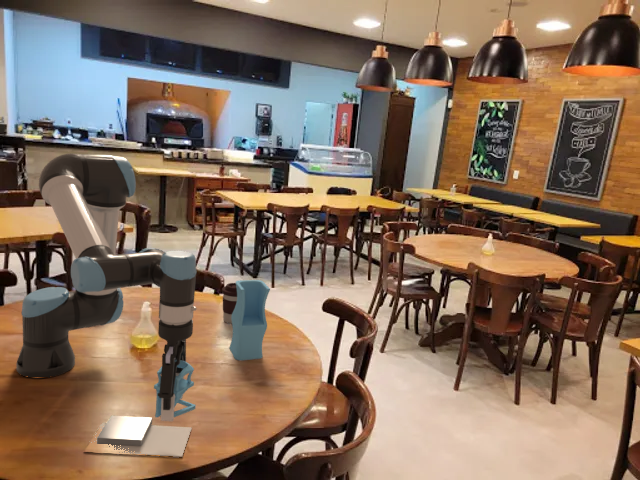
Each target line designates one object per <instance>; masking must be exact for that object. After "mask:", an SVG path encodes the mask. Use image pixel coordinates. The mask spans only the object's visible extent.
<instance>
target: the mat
mask: <svg viewBox="0 0 640 480" xmlns="http://www.w3.org/2000/svg"><path fill="white" fill-rule="evenodd" d="M101 423H102V422H101ZM101 423H100V425H99V427H101V426H102V427H101V428H102V429H103V428H104V427H103V426H105V425H106V423H107V422H103V423H102V424H101ZM99 427H98V428H97V430H98V429H99ZM101 428H100V429H101ZM192 429H193V428H192V427H189V426H172V425H171V426H170V425H155V424H154V425H153V424H152V425H151V427H150V429H149V431H148V433H147V435H146V437H145V439H144V441H143V443H142V445H141V446H130V445H121V446H120V445H116V446H115V445H114V448H115V447H116V450H117V449H118V448H120V447H121V448H120V449H121V450H122V449H123V448H124V449H123V450H125V449H126V450H125V451H128V450H129V451H128V452H129V453H130V454H131V453H132V454H134V453H135V454H145V455H146V454H147V455H160V456H173V457H172V458H179V457H182V458H183V456H184V454H183V453H185V451H184V450H186V448H185V447H187V445H186V444H188V442H187V441H189V439H188V438H190V436H191V433H190V432H192ZM95 433H96V432H95ZM95 433H94V434H95ZM96 434H97V433H96ZM96 434H95V435H96ZM189 435H190V436H189ZM95 438H96V437H95ZM96 441H97V440H96ZM94 442H95V441H94ZM91 443H92V442H91ZM108 445H109V444H108ZM112 446H113V445H112ZM118 446H119V447H118ZM109 447H110V446H109ZM128 448H129V449H128ZM120 449H118V450H120ZM114 450H115V449H114ZM125 451H124V453H125ZM131 451H132V452H131ZM134 451H135V452H134ZM128 452H126V453H128ZM133 452H134V453H133ZM140 452H141V453H140ZM119 453H120V452H119ZM122 453H123V452H122Z"/></svg>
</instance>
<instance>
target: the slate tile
mask: <svg viewBox="0 0 640 480" xmlns="http://www.w3.org/2000/svg"><path fill="white" fill-rule="evenodd" d="M105 423H106V425H105V426H104V428H103V429H102V431H101V432H100V434H99V436H98V437H97V444H111V445H130V446H141V445H142V443H143V441H144V439H145V437H146V435H147V433H148V431H149V429H150V427H151V425H153V417H148V416H146V417H145V416H133V415H132V416H131V415H130V416H128V415H115V414H114V415H113V414H112V415H110V417H109V419H107V422H105Z"/></svg>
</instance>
